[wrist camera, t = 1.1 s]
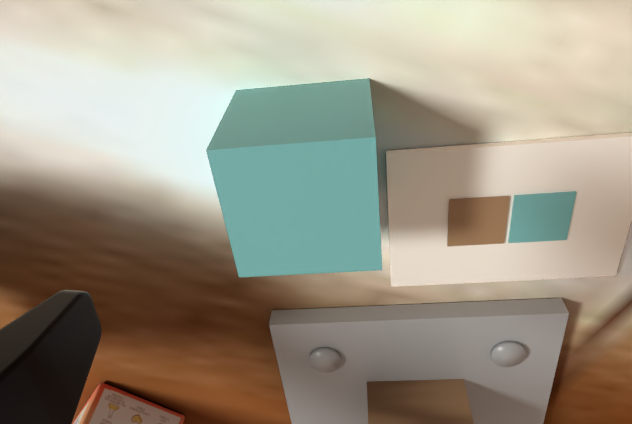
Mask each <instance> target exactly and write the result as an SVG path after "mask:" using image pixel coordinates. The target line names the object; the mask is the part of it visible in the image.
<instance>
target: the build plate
mask: <svg viewBox="0 0 632 424" xmlns="http://www.w3.org/2000/svg"><path fill="white" fill-rule="evenodd" d="M568 316H569V312H568V310H567V308H566V306H565V304H564V302H563V300H562V298H547V299H523V300H500V301H477V302H454V303H431V304H407V305H384V306H361V307H338V308H315V309H291V310H272V311H271V317H270V323H269V327H270V331H271V336H272V340H273V344H274V349H275V353H276V357H277V362H278V366H279V370H280V375H281V379H282V383H283V388H284V392H285V396H286V401H287V405H288V409H289V414H290V418H291V422H292V424H368V403H367V382H369V381H406V380H442V379H464V383H465V387H466V391H467V396H468V400H469V405H470V409H471V413H472V418H473V422H474V424H543V422H544V418H545V414H546V410H547V405H548V401H549V397H550V393H551V388H552V384H553V380H554V376H555V371H556V367H557V363H558V359H559V354H560V350H561V346H562V342H563V337H564V333H565V329H566V325H567V320H568Z"/></svg>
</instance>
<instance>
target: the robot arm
mask: <svg viewBox="0 0 632 424" xmlns="http://www.w3.org/2000/svg"><path fill="white" fill-rule="evenodd" d="M100 337H101V324H100V321H99V318H98V315H97V312H96V309H95V306H94V303H93V301H92V298H91V296H90V294H89V293H88V292H85V291H78V290H62V291H59V292H57V293H56V294H54V295H53V296H51V297H49V298H48V299H46V300H45V301H43V302H42V303H40V304H39V305H37V306H36V307H34V308H33V309H31V310H29V311H28V312H26V313H25V314H23V315H22V316H20V317H19V318H17V319H16V320H14V321H13V322H11V323H9V324H8V325H6V326H5V327H3V328H2V329H0V424H71V423H72V420H73V417H74V415H75V412H76V409H77V406H78V403H79V400H80V397H81V394H82V391H83V388H84V386H85V383H86V380H87V377H88V374H89V371H90V368H91V365H92V362H93V359H94V356H95V353H96V350H97V347H98V344H99V341H100Z"/></svg>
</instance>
